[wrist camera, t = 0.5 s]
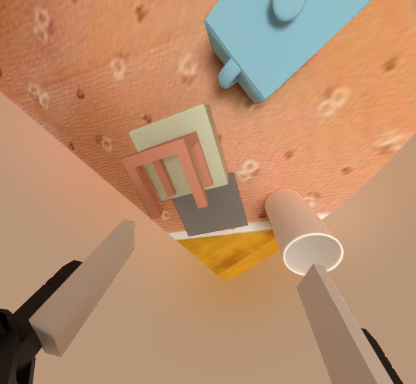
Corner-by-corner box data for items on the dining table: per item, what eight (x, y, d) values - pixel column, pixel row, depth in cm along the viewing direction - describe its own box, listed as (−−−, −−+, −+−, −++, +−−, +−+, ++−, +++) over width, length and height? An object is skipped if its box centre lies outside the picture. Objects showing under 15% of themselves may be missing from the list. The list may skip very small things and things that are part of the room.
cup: (273, 224, 43) (294, 281, 28) (258, 197, 40) (274, 245, 26) (307, 211, 40) (350, 266, 26) (294, 182, 38) (334, 225, 23)
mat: (169, 190, 42) (168, 190, 42) (233, 173, 38) (233, 173, 38) (189, 235, 47) (188, 236, 47) (247, 224, 43) (247, 225, 43)
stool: (149, 147, 31) (120, 159, 23) (196, 131, 29) (182, 138, 21) (170, 194, 34) (151, 219, 26) (213, 182, 32) (207, 206, 24)
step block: (146, 128, 37) (128, 131, 30) (209, 105, 33) (203, 103, 27) (171, 187, 42) (161, 201, 35) (228, 172, 38) (228, 184, 32)
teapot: (241, 116, 33) (248, 117, 21) (202, 66, 31) (182, 35, 18) (360, 3, 25) (484, -103, 13) (319, -76, 23) (424, -301, 10)
